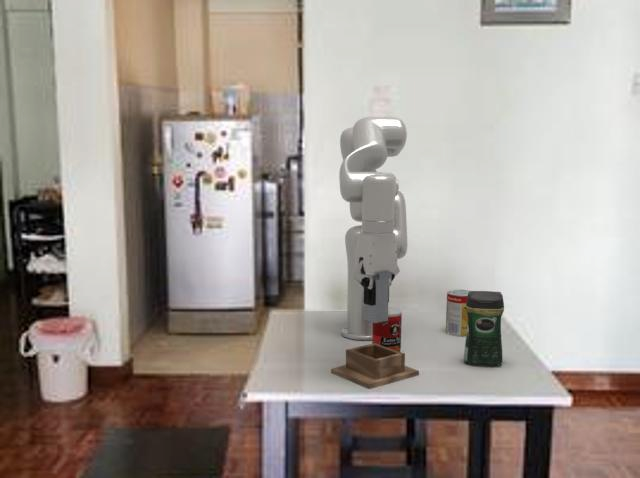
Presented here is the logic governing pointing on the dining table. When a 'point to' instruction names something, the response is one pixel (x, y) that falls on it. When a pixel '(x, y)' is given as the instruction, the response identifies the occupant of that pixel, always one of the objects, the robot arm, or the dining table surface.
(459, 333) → the canned food
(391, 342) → the canned food
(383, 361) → the well block
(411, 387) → the dining table surface
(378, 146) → the robot arm
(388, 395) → the dining table surface
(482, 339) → the coffee jar
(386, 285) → the grey boxy piece
